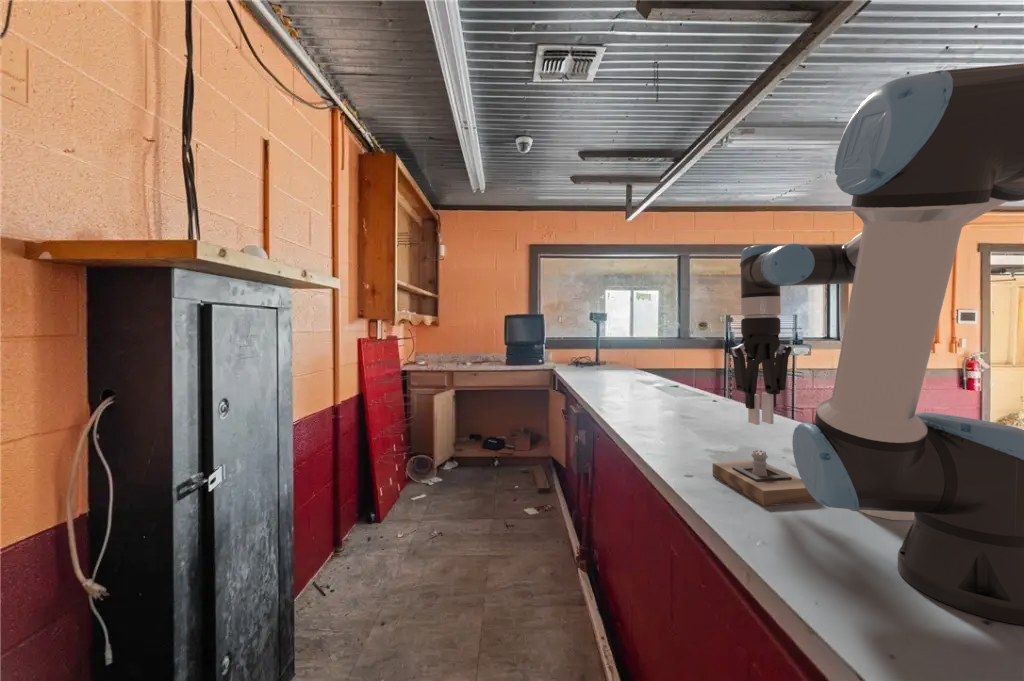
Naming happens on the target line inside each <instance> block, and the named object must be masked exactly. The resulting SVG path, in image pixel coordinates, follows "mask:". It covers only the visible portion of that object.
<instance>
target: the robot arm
mask: <svg viewBox="0 0 1024 681" xmlns="http://www.w3.org/2000/svg"><path fill="white" fill-rule="evenodd" d="M848 121H849V122H848V123H847V125H846V126H845V129H844V131H843V133H842V135H841V139H840V141H839V143H838V147H837V150H836V155H835V160H834V161H835V162H834V174H835V175H836V178H835V182H836V184H837V187H838V188H839V189H840V190H841V191H842V192H843V193H846V194H848V195H851V196H852V200H851V206H850V210H851V211H852V212H853V213H854V214H855V215H857V217H858V218H859V219H861V221H862V223H863V227H862V230H861V232H859V233H858V234H857V235H856V236H854V237H853V238H852V239H850V240H849V241H847V242H846V243H843V244H841V243H840V244H828V245H827V244H825V245H807V246H806V245H801V244H799V243H788V244H781V245H776V244H772V243H771V244H769V243H768V244H767V243H766V244H757V245H751V246H747V247H745V248H743V249H742V251H741V255H740V263H739V267H740V310H741V312H740V315H741V316H742V317H743V318H742V319H741V320H740V333H741V336H742V338H741V341H740V344H739V345H737V346H735V347H733V346H732V347H729V352H730V355H731V357H732V360H733V361H732V362H733V370H734V379H735V388H736V391H740V392H742V393H744V395H745V398H744V400H745V402H744V404H745V408H746V409H748V411H747V412H748V415H747V416H748V417H747V419H748V421H747V422H748V423H751V424H753V425H761V424H760V423H761V422H762V423H766V424H769V425H774V408H776V407H777V395H779V394H781V392H782V391H783V392H784V391H785V390H786V384H787V377H788V376H787V374H788V367H789V366H788V364H789V357H790V355H791V352H792V350H793V349H792V346H789V345H787V346H786V345H784V344H782V343H781V339H780V337H779V336H780V334H781V319H780V317H778V316H779V315H781V312H782V311H781V306H782V304H781V287H786V286H787V287H788V286H790V287H791V286H793V287H794V286H814V285H816V286H819V285H820V286H821V285H851V292H850V297H849V303H848V308H847V314H846V320H845V325H844V329H843V335H842V341H841V345H840V347H841V348H840V352H839V353H840V354H839V358H838V364H837V369H836V373H835V374H836V375H835V379H834V386H833V390H832V395H831V396H832V397H829V398H827V399H825V400H823V401H821V402H820V403H818V404H817V406H816V410H815V416H814V421H813V422H811V421H805V422H801V423H799V424H798V425H797V426H796V427H794V430H793V434H792V439H791V440H792V443H791V444H792V452H793V459H794V462H795V467H796V468H797V472H798V475H799V477H800V479H801V480H802V482H803V484H804V486H805V487H806V489H807V490H808V492H809V493H810V494H811V496H812V497H813V498H814V499H815V500H816V501H818V502H817V503H819V504H820V505H822V506H824V507H827V508H833V509H843V510H850V511H851V512H857V511H859V510H875V511H896V512H914V520H912V524H911V525H910V527H909V529H908V531H907V533H906V535H905V538H904V539H903V542H902V544H901V546H900V548H899V549H898V552H897V572H898V573H899V576H901V577H902V578H903V580H904V581H905V582H907V583H908V584H909V585H911V586H912V587H913V588H915V589H917V590H919V591H920V592H922V593H923V594H925V595H927V596H928V597H930V598H933V599H935V600H937V601H939V602H941V603H943V604H946V605H948V606H951V607H953V608H956V609H958V610H961V611H964V612H966V613H969V614H972V615H975V616H979V617H983V618H985V619H990V620H994V621H998V622H1002V623H1003V622H1004V623H1009V624H1013V625H1021V626H1024V429H1022V428H1019V427H1016V426H1012V425H1008V424H1003V423H998V422H997V423H996V422H994V421H989V420H988V421H987V420H982V419H978V418H977V419H976V418H970V417H965V416H964V417H963V416H958V415H951V414H946V413H945V414H944V413H937V412H917V413H916V411H917V406H918V403H919V399H920V395H921V391H922V387H923V384H924V380H925V375H926V371H927V368H928V365H929V360H930V356H931V352H932V349H933V345H934V339H935V336H936V332H937V328H938V324H939V321H940V317H941V312H942V308H943V304H944V300H945V296H946V293H947V288H948V284H949V280H950V276H951V273H952V268H953V265H954V262H955V261H954V260H955V256H956V252H957V248H958V245H959V241H960V238H961V234H962V229H963V226H965V225H966V224H969V223H970V222H972V221H974V220H976V219H978V218H980V217H981V216H983V215H985V214H987V213H989V212H991V211H992V210H994V209H996V208H998V207H999V206H1001V205H1003V204H1005V203H1016V202H1022V201H1024V62H1023V63H1013V64H1002V65H1001V64H1000V65H991V66H979V67H978V66H977V67H971V68H970V67H969V68H968V67H966V68H957V69H956V68H955V69H946V70H945V69H943V70H942V69H940V70H936V71H929V72H927V73H922V74H921V73H920V74H917V75H911V76H910V75H909V76H905V77H904V76H903V77H899V78H896V79H892V80H891V81H888V82H886V83H884V84H882V85H880V86H879V87H878V88H876V89H875V90H873V92H872V93H870V94H869V95H868V96H867V97H866V98H865V99H864V100H863V101H862V102H861V104H860V105H859V106H858V108H857V109H856V111H855V112H854V113H853V115H852V117H851V118H850V120H848ZM745 354H746V356H745ZM760 364H761V367H762V368H761V369H762V376H763V382H764V391H765V392H761V396H760V394H757V388H758V387H757V386H758V381H759V380H758V377H759V369H760ZM760 397H761V400H760ZM760 402H761V406H760ZM760 407H761V411H760ZM760 412H761V413H760ZM760 414H761V415H760ZM760 416H761V417H760ZM760 418H761V420H760ZM760 421H761V422H760Z"/></svg>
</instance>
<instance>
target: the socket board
mask: <svg viewBox="0 0 1024 681" xmlns="http://www.w3.org/2000/svg"><path fill="white" fill-rule="evenodd" d="M752 461H753V460H742V461H741V460H740V461H739V460H738V461H723V462H712V476H713V477H715V478H717V479H719V480H720V481H722V482H723V483H725V484H727V485H728V486H730V487H731V488H734V489H735V490H737V491H738V492H740V493H742V494H744V495H745V496H747V497H749V498H750V499H752V500H753V501H755V502H757V503H759V504H760V505H762V506H773V505H774V506H775V505H776V506H777V504H778V505H791V504H805V503H819V502H818V501H816V500H815V499H814V498H813V497H812V496H811V494H810V493H809V492H808V490H807V489H806V487H805V486H804V484H803V482H802V480H801V478H799V477H797V476H795V475H792V474H790V473H788V472H785V471H784V470H782V469H779V468H777V467H774V466H773V465H770V464H768V463H767V464H766V472H767V476H756V475H754V474H752V472H753V462H752Z"/></svg>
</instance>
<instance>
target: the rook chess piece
mask: <svg viewBox="0 0 1024 681" xmlns="http://www.w3.org/2000/svg"><path fill="white" fill-rule="evenodd" d="M751 457H752V458H753V460H751V461H752V462H753V472H752V474H754V475H756V476H767V472H766V464H768V463H767V459H768V458H769V456H768V455H767V452H766V451H765V450H761V449H760V450H758V449H754V450H752V453H751Z"/></svg>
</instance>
